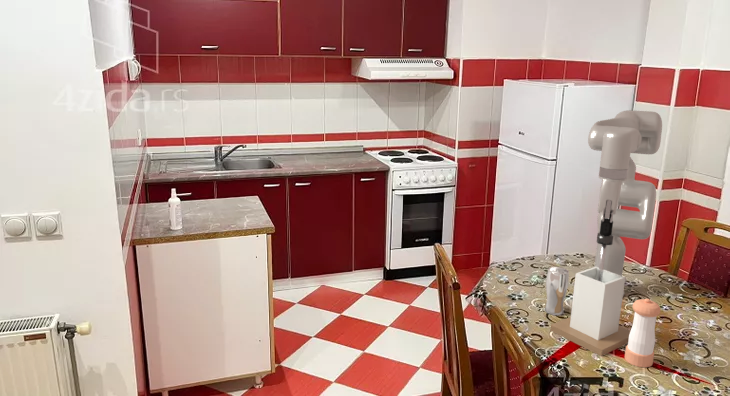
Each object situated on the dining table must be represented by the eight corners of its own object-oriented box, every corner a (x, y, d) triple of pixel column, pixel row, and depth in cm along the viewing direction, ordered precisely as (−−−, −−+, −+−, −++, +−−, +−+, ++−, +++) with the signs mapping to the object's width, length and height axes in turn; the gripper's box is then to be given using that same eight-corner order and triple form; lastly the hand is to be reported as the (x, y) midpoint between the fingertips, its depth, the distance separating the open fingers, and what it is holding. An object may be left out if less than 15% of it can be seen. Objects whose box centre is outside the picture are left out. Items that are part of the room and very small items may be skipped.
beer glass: (566, 317, 184) (571, 275, 180) (544, 314, 185) (548, 273, 181) (563, 307, 190) (567, 267, 187) (542, 305, 192) (546, 265, 188)
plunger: (594, 289, 174) (601, 229, 169) (616, 298, 168) (624, 235, 163) (579, 294, 170) (586, 233, 165) (601, 304, 164) (609, 240, 159)
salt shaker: (619, 354, 162) (628, 294, 157) (643, 353, 162) (652, 293, 157) (633, 368, 155) (642, 305, 150) (658, 366, 155) (668, 304, 150)
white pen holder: (585, 316, 185) (592, 260, 179) (636, 339, 170) (645, 278, 165) (550, 330, 175) (556, 271, 170) (601, 356, 161) (609, 292, 155)
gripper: (601, 167, 167) (594, 225, 172) (597, 177, 154) (589, 239, 159) (628, 170, 164) (620, 228, 169) (626, 180, 151) (618, 243, 156)
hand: (605, 233), depth 164 cm, fingers closed
